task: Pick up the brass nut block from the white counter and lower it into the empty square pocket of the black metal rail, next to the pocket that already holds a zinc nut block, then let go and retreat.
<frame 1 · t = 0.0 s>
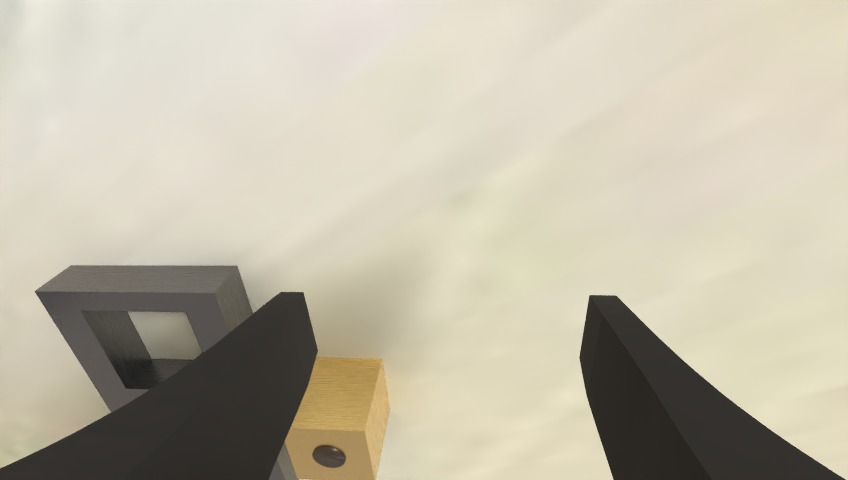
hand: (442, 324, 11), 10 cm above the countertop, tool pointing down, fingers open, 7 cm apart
rail: (203, 379, 29), on the countertop
brass nut: (351, 383, 28), on the countertop
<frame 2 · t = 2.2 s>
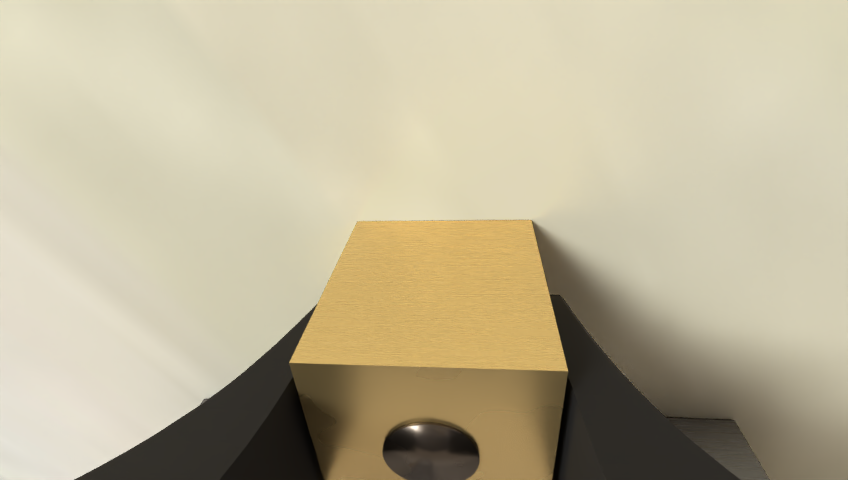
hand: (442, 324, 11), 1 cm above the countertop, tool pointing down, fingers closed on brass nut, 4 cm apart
brass nut: (445, 290, 12), on the countertop, touching gripper
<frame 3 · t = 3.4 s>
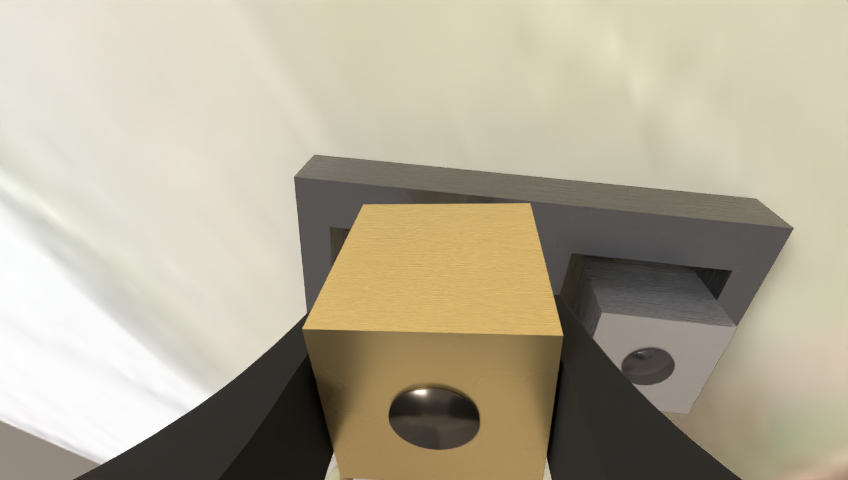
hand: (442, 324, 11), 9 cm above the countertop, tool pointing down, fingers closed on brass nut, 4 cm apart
zinc nut: (611, 285, 20), resting in rail
rail: (509, 275, 21), on the countertop
brass nut: (447, 272, 13), point 6 cm above the countertop, touching gripper
when the fingers open (3 cm above the countertop, at t = 5.0 s): brass nut drops 1 cm, resting in rail.
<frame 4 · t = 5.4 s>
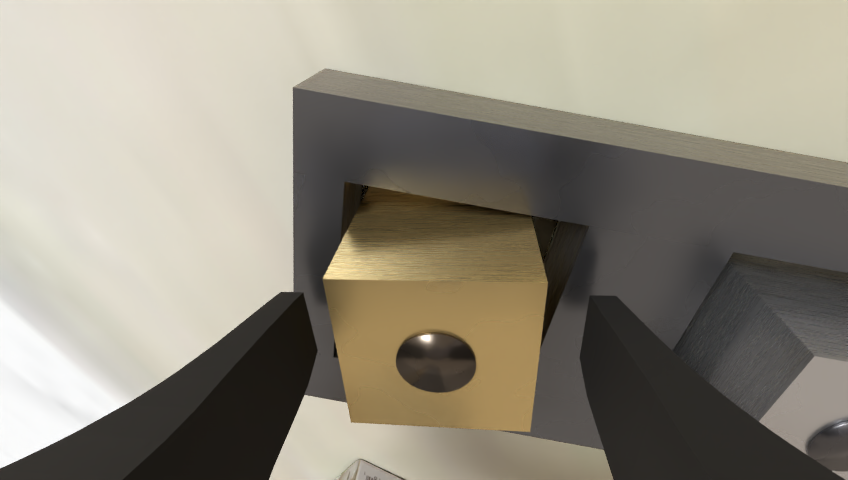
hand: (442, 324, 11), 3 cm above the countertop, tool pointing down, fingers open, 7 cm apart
zinc nut: (737, 304, 14), resting in rail
rail: (594, 280, 14), on the countertop
brass nut: (446, 246, 14), resting in rail
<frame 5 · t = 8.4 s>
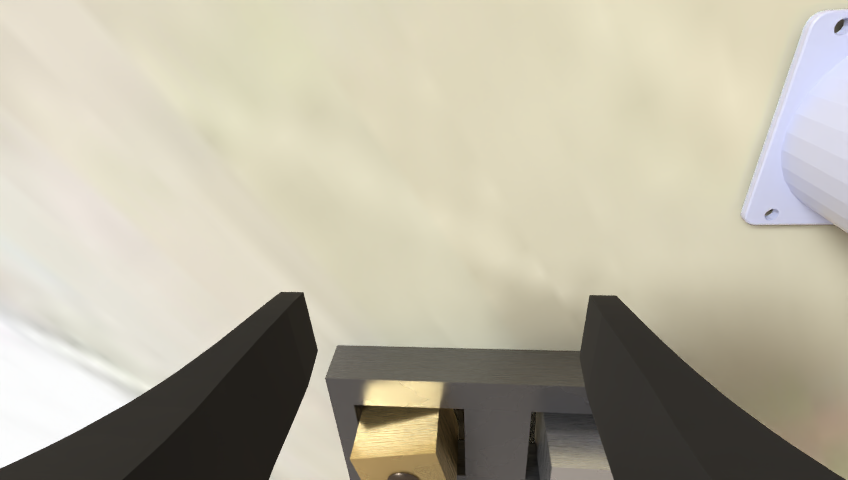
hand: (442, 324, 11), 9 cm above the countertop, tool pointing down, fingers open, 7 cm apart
zinc nut: (574, 411, 26), resting in rail
rail: (494, 410, 27), on the countertop
brass nut: (415, 403, 27), resting in rail
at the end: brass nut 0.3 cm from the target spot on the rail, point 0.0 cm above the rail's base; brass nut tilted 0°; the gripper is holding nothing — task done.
